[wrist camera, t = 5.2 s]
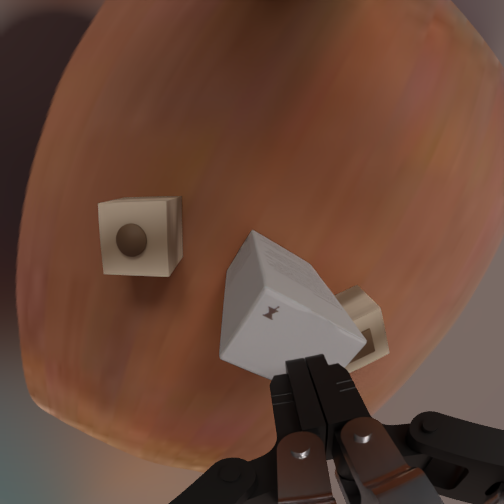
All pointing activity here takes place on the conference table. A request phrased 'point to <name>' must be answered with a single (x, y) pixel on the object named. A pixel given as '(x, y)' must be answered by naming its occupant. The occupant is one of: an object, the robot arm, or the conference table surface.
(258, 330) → the skincare box
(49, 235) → the conference table surface
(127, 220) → the marked block
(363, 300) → the marked block
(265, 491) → the robot arm
